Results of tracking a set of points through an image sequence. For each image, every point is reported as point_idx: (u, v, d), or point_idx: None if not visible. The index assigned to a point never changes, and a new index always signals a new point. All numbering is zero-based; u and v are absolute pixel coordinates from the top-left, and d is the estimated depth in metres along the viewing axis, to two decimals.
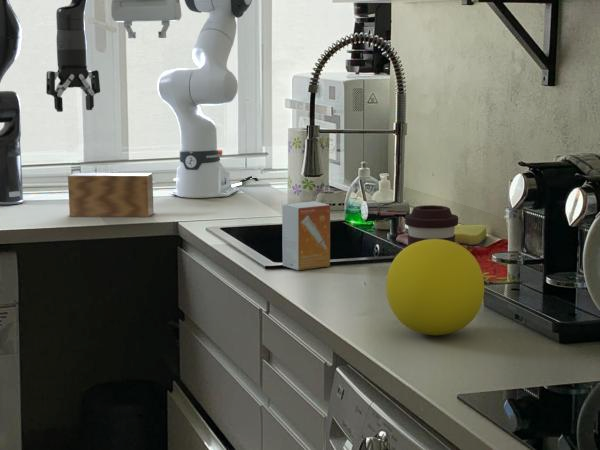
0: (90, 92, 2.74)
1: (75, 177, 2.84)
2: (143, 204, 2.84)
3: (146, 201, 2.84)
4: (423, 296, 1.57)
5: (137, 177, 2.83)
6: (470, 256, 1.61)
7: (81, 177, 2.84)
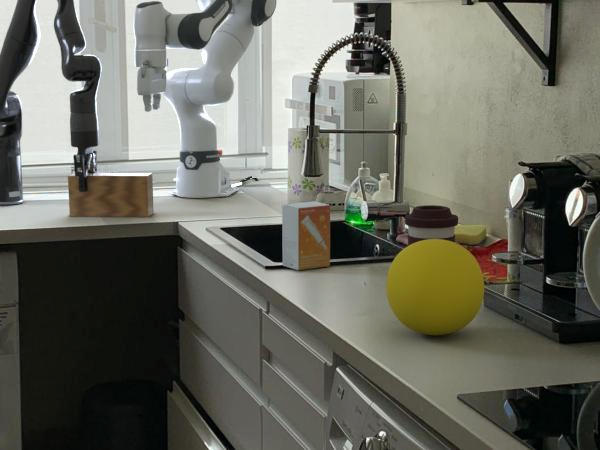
0: None
1: (75, 177, 2.84)
2: (143, 204, 2.84)
3: (146, 201, 2.84)
4: (423, 296, 1.57)
5: (137, 177, 2.83)
6: (470, 256, 1.61)
7: None
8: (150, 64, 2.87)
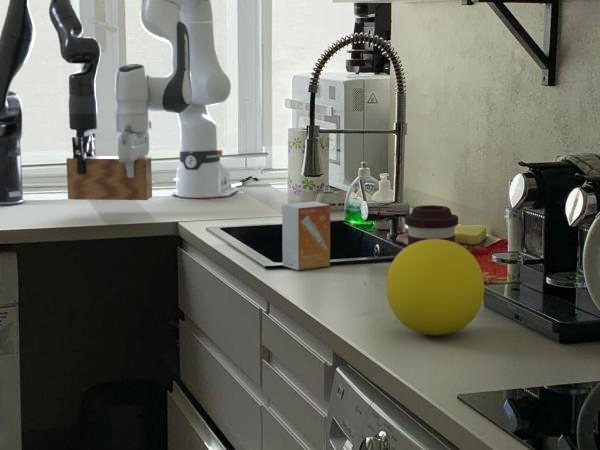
0: None
1: (73, 160, 2.84)
2: (141, 187, 2.83)
3: (145, 184, 2.83)
4: (423, 296, 1.57)
5: (136, 160, 2.82)
6: (470, 256, 1.61)
7: None
8: (132, 129, 2.80)
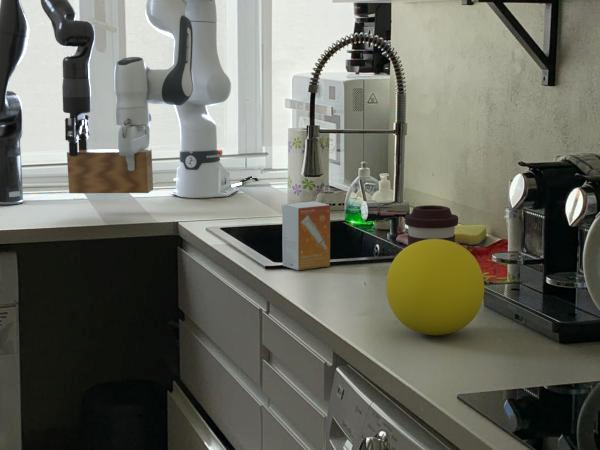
0: None
1: None
2: (142, 180, 2.83)
3: (145, 177, 2.83)
4: (423, 296, 1.57)
5: (136, 153, 2.82)
6: (470, 256, 1.61)
7: (80, 154, 2.84)
8: (132, 122, 2.79)
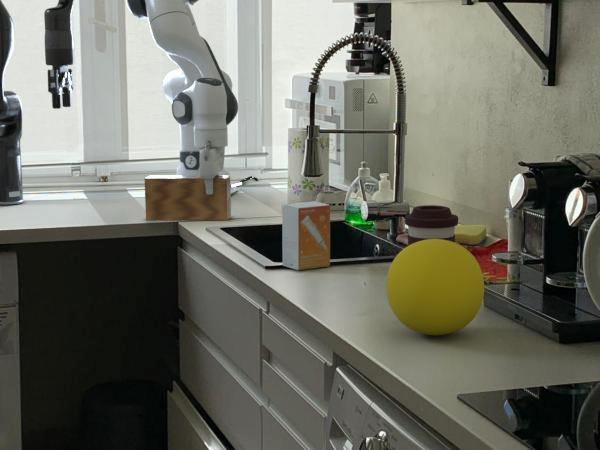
0: None
1: (152, 180, 2.77)
2: (222, 207, 2.77)
3: (225, 204, 2.76)
4: (423, 296, 1.57)
5: (216, 180, 2.75)
6: (470, 256, 1.61)
7: (158, 180, 2.77)
8: (212, 145, 2.73)
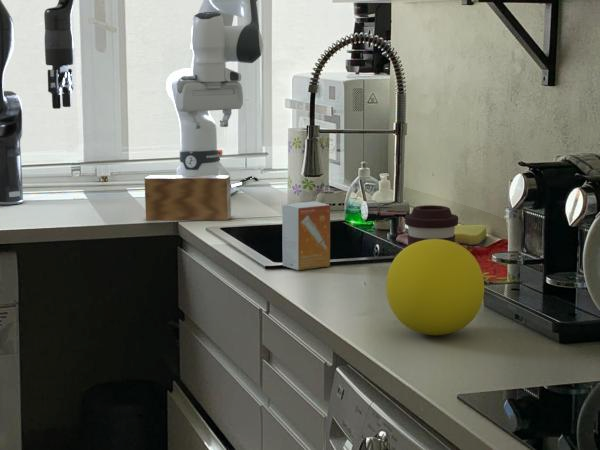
0: None
1: (152, 180, 2.77)
2: (222, 207, 2.77)
3: (225, 204, 2.76)
4: (423, 296, 1.57)
5: (216, 180, 2.75)
6: (470, 256, 1.61)
7: (158, 180, 2.77)
8: (198, 79, 2.71)
